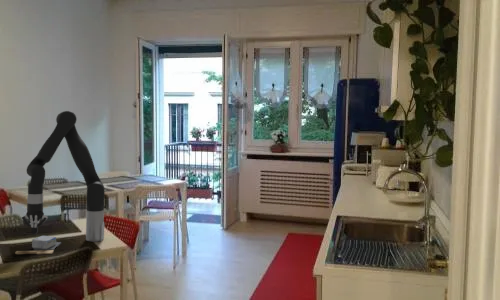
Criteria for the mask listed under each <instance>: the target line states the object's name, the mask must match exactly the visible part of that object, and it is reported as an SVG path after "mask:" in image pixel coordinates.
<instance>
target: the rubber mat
mask: <svg viewBox="0 0 500 300" xmlns="http://www.w3.org/2000/svg"><path fill="white" fill-rule="evenodd" d="M61 244H62V242H61V241H56V245H54V246H52V247H50V248H48V249H41V248H33V251H39V250H54V251H55V250H56V249H57V248H58V247H59V246H60V245H61ZM56 247H57V248H56ZM55 248H56V249H55Z"/></svg>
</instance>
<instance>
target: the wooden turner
mask: <svg viewBox="0 0 500 300" xmlns="http://www.w3.org/2000/svg"><path fill="white" fill-rule="evenodd" d="M54 251H55V249H54V250H16V251H15V253H14V254H15V255H28V254H29V255H30V254H31V255H33V254H36V255H52V254H54Z"/></svg>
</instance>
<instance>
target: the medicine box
mask: <svg viewBox="0 0 500 300" xmlns="http://www.w3.org/2000/svg"><path fill="white" fill-rule="evenodd" d="M56 242H57V237H56V236H52V235H51V236H50V235H41V236H38V237H35V238H33V239H31V244H32V245H31V247H32V248H33V249H34V248H41V249H48V248H50V247H52V246H54V245H56Z"/></svg>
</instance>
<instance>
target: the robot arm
mask: <svg viewBox="0 0 500 300" xmlns="http://www.w3.org/2000/svg"><path fill="white" fill-rule="evenodd" d="M55 121H56V124H55V125H56V126H55V128H54V130H53V131H52V133H51V134H50V135H49V137H48V138H47V139H46V140H45V142H44V143H43V144H42V146H41V148H40V149H39V151H38V153H37V155H36V156H35V157H34V158H33V159H32V160H31V161H30V162H29V164H28V165H27V167H26V174H27V175H28V176H29V177H31V178H30V182H29V183H28V186H27V198H26V202H27V203H26V207H27V208H26V212H25V213H26V214H24V215H23V216H22V217H21V220H22V221H23V222H24V223H25V224H26V225H27V227H31V234H32V235H37V234H38V232H39V227H41V226H43V224H44V223H45V222H46V221H47V220H48V218H49V216H46V215H45V213H44V182H45V178H46V169H45V165H46V164H48V163H50V161H51V160H52V159H53V156H55V153H56V151H57V150H58V148H59V147H60V144H61V143H62V141H63V140H64V139H65V140H66V141H65V142H66V144H67V147H68V149H69V152H70V155H71V157H72V160H73V162H74V164H75V165H76V167H77V170H79V172H80V173H81V175H82V176H83V179H84V182H85V185H86V216H85V217H86V221H85V222H86V224H85V241H87V242H89V243H90V242H102V241H103V240H104V238H105V221H104V217H105V215H104V213H105V212H104V211H105V185H104V184H103V182H102V181H101V178H100V176H99V175H98V173H97V171H96V167H95V164H94V161H93V157H92V154H90V151H89V148H88V146H87V144H86V143H85V141H84V140H83V139H82V137H80V134H79V133H78V130H77V127H76V123H77V115H76V114H75V113H74V112H73V111H71V110H64V111H61V112H60V113H58V114H57V116H56V119H55ZM40 220H41V221H40Z"/></svg>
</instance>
